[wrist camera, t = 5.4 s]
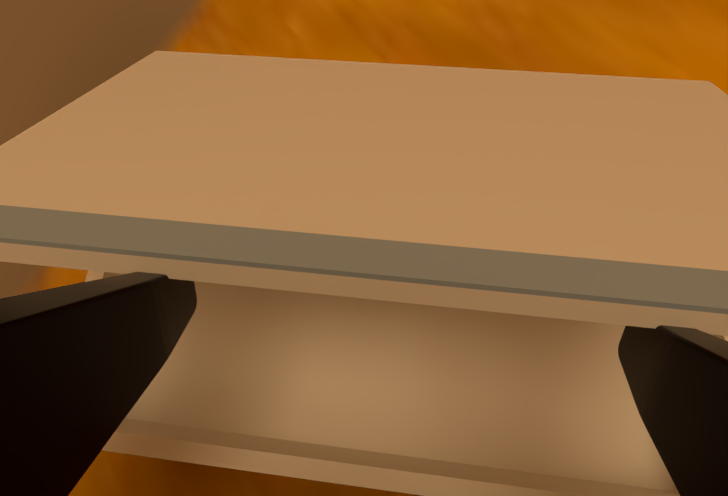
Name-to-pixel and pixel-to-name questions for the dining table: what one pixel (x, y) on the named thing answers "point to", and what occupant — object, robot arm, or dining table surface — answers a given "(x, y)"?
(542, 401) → the carton
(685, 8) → the dining table surface
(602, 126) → the flap
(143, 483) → the dining table surface
